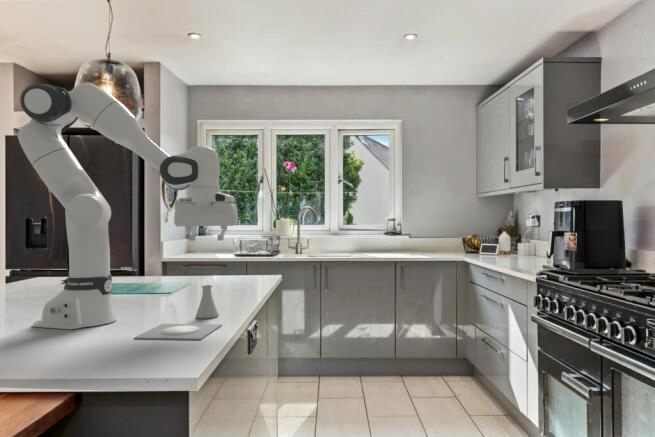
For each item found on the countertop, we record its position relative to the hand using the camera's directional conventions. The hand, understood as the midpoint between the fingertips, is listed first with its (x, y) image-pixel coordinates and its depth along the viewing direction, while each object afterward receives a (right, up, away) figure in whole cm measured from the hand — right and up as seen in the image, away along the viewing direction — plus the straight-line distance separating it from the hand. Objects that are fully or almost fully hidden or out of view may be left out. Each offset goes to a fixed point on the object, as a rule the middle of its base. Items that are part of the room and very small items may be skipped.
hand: (206, 240), depth 144 cm
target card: (-2, -24, -20) cm, 31 cm away
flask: (0, -25, 0) cm, 25 cm away
